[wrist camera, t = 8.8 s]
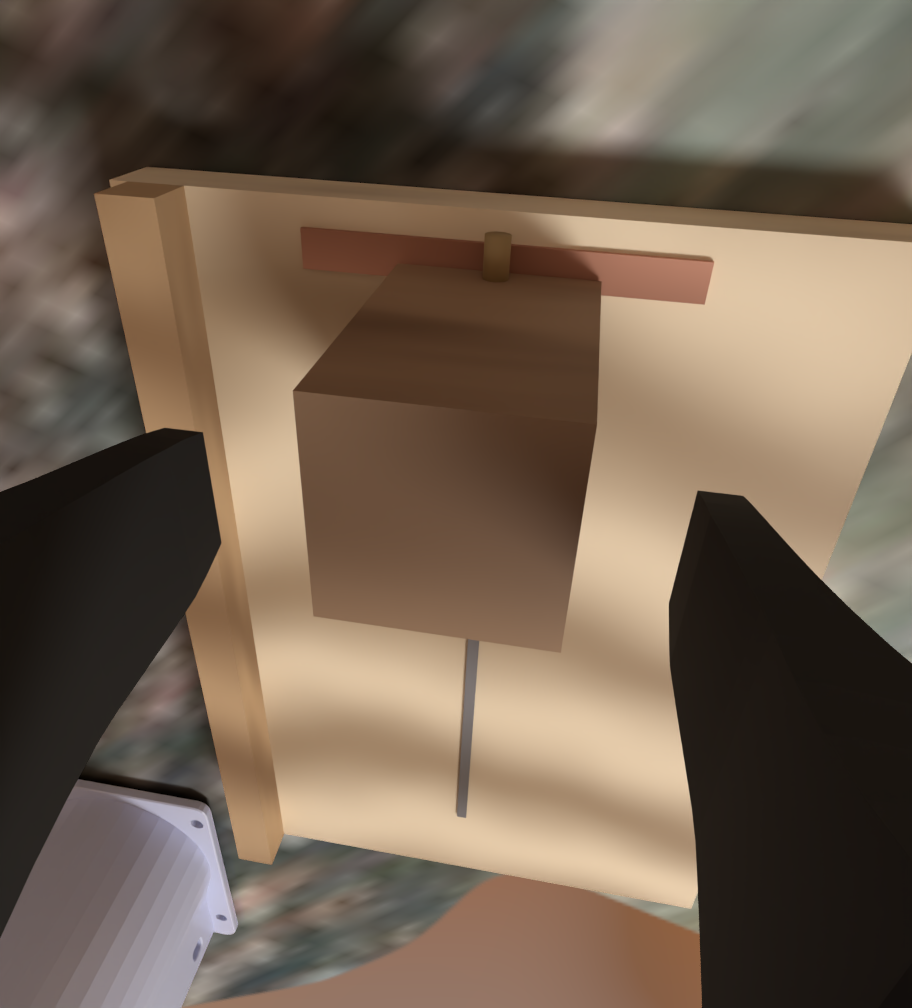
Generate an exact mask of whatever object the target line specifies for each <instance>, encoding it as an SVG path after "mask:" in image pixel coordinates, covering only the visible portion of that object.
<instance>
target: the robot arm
mask: <svg viewBox="0 0 912 1008" xmlns="http://www.w3.org/2000/svg"><path fill="white" fill-rule="evenodd" d="M221 543H222V542H221V536H220V530H219V524H218V518H217V512H216V507H215V501H214V495H213V489H212V483H211V477H210V471H209V465H208V459H207V453H206V447H205V441H204V435H203V432H197V431H189V430H180V429H172V428H162V429H158V430H155V431H151V432H148V433H145V434H143V435H140V436H137V437H134V438H132V439H129V440H127V441H124V442H122V443H119V444H117V445H114V446H112V447H109V448H107V449H104V450H102V451H100V452H97V453H95V454H92V455H90V456H88V457H85V458H83V459H81V460H78V461H76V462H73V463H71V464H69V465H66V466H64V467H61V468H59V469H57V470H54V471H52V472H50V473H47V474H45V475H42V476H40V477H38V478H35V479H33V480H30V481H28V482H25V483H23V484H20V485H17V486H15V487H12V488H10V489H7V490H4V491H2V492H0V1008H181V1007H182V1004H183V1002H184V1000H185V997H186V995H187V993H188V990H189V988H190V986H191V983H192V981H193V979H194V976H195V974H196V972H197V969H198V967H199V965H200V962H201V960H202V958H203V955H204V953H205V951H206V948H207V946H208V944H209V941H210V939H211V937H212V934H213V932H217V933H222V934H228V935H230V934H233V933H235V931H236V929H237V926H238V922H237V917H236V913H235V909H234V905H233V901H232V897H231V892H230V888H229V884H228V880H227V876H226V872H225V867H224V863H223V859H222V855H221V851H220V847H219V842H218V838H217V834H216V830H215V826H214V821H213V817H212V813H211V810H210V808H209V807H208V806H207V805H206V804H205V803H203V802H200V801H197V800H191V799H186V798H180V797H175V796H169V795H164V794H158V793H152V792H147V791H141V790H136V789H130V788H125V787H119V786H114V785H108V784H103V783H97V782H92V781H86V780H81V779H78V778H79V776H80V775H81V773H82V771H83V769H84V767H85V765H86V763H87V762H88V760H89V758H90V756H91V754H92V752H93V751H94V749H95V747H96V745H97V743H98V741H99V740H100V738H101V736H102V735H103V733H104V732H105V730H106V728H107V727H108V725H109V724H110V722H111V721H112V719H113V717H114V716H115V714H116V713H117V711H118V710H119V708H120V707H121V705H122V704H123V702H124V701H125V700H126V698H127V697H128V695H129V694H130V692H131V691H132V689H133V688H134V687H135V685H136V684H137V682H138V681H139V679H140V678H141V676H142V675H143V674H144V672H145V671H146V669H147V668H148V666H149V665H150V663H151V662H152V661H153V659H154V658H155V656H156V655H157V653H158V652H159V650H160V649H161V648H162V646H163V645H164V643H165V642H166V640H167V639H168V638H169V636H170V635H171V633H172V632H173V630H174V629H175V627H176V626H177V624H178V623H179V621H180V620H181V618H182V617H183V615H184V614H185V612H186V611H187V609H188V608H189V606H190V605H191V603H192V602H193V600H194V599H195V597H196V595H197V593H198V591H199V589H200V588H201V586H202V584H203V582H204V580H205V578H206V576H207V574H208V572H209V570H210V567H211V565H212V563H213V561H214V559H215V557H216V554H217V552H218V550H219V548H220V546H221ZM669 658H670V671H671V678H672V685H673V691H674V698H675V705H676V711H677V718H678V724H679V731H680V737H681V743H682V750H683V756H684V762H685V769H686V775H687V781H688V788H689V794H690V801H691V807H692V815H693V825H694V834H695V844H696V863H697V883H698V904H699V928H700V955H701V984H702V1008H912V663H911V662H909V661H908V660H907V659H906V658H905V657H903V656H902V655H901V654H900V653H899V652H898V651H896V650H895V649H894V648H893V647H892V646H890V645H889V644H888V643H887V642H886V641H885V640H884V639H883V638H882V637H880V636H879V635H878V634H877V633H876V632H875V631H874V630H873V629H872V628H871V627H870V626H868V625H867V624H866V623H865V622H864V621H863V620H862V619H861V618H860V617H859V616H858V615H857V614H855V613H854V612H853V611H852V610H851V609H850V608H849V607H848V606H847V605H846V604H845V603H844V602H843V601H842V600H841V599H840V598H839V597H838V596H837V595H836V594H835V593H834V592H833V591H832V590H831V589H830V588H829V587H828V586H827V585H826V584H825V583H824V582H823V581H822V580H821V579H820V578H819V577H818V576H817V575H816V574H815V573H814V572H813V571H812V570H811V569H810V568H809V566H808V565H807V564H806V563H805V562H804V561H803V560H802V559H801V558H800V557H799V556H798V555H797V554H796V553H795V551H794V550H793V549H792V548H791V547H790V546H789V545H788V544H787V543H786V542H785V540H784V539H783V538H782V537H781V536H780V535H779V534H778V533H777V532H776V530H775V529H774V528H773V527H772V526H771V525H770V524H769V523H768V522H767V520H766V519H765V518H764V517H763V516H762V515H761V514H760V513H759V512H758V510H757V509H756V508H755V507H754V506H753V505H752V504H751V503H750V502H749V501H748V500H747V499H746V498H745V497H744V496H741V495H732V494H724V493H715V492H707V491H697V495H696V499H695V503H694V507H693V510H692V514H691V518H690V522H689V526H688V530H687V534H686V538H685V542H684V546H683V550H682V554H681V557H680V561H679V565H678V569H677V573H676V577H675V581H674V585H673V589H672V593H671V597H670V600H669Z"/></svg>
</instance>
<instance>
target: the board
mask: <svg viewBox="0 0 912 1008" xmlns="http://www.w3.org/2000/svg"><path fill="white" fill-rule="evenodd" d="M109 181H110V186H111V188H108V189H105V190H103V191H100V192H97V193H94V196H95V200H96V205H97V210H98V214H99V219H100V223H101V228H102V232H103V237H104V242H105V246H106V251H107V255H108V260H109V265H110V269H111V274H112V278H113V283H114V287H115V292H116V297H117V301H118V306H119V310H120V315H121V320H122V324H123V329H124V333H125V338H126V342H127V347H128V352H129V356H130V361H131V365H132V370H133V375H134V379H135V384H136V388H137V393H138V397H139V402H140V407H141V411H142V416H143V420H144V425H145V430H146V433H148V432H151V431H155V430H158V429H162V428H172V429H180V430H189V431H197V432H203V435H204V441H205V447H206V453H207V459H208V465H209V471H210V477H211V483H212V489H213V495H214V501H215V507H216V512H217V518H218V524H219V530H220V536H221V542H222V543H221V546H220V548H219V550H218V552H217V554H216V557H215V559H214V561H213V563H212V565H211V567H210V570H209V572H208V574H207V576H206V578H205V580H204V582H203V584H202V586H201V588H200V589H199V591H198V593H197V595H196V597H195V599H194V600H193V602H192V603H191V605H190V606H189V608H188V609H187V611H186V612H185V613H186V618H187V622H188V627H189V631H190V636H191V640H192V645H193V650H194V654H195V659H196V663H197V668H198V673H199V677H200V682H201V686H202V691H203V695H204V700H205V705H206V709H207V714H208V718H209V723H210V728H211V732H212V737H213V741H214V746H215V750H216V755H217V760H218V764H219V769H220V773H221V778H222V783H223V787H224V792H225V796H226V801H227V805H228V810H229V815H230V819H231V824H232V828H233V833H234V838H235V842H236V847H237V851H238V856H239V859H244V860H249V861H255V862H260V863H265V864H271V865H272V863H273V860H274V858H275V855H276V853H277V850H278V848H279V845H280V843H281V840H282V838H283V835H284V834H289V835H294V836H300V837H305V838H311V839H316V840H321V841H327V842H332V843H338V844H343V845H349V846H354V847H359V848H365V849H370V850H376V851H381V852H387V853H392V854H397V855H403V856H408V857H414V858H419V859H425V860H430V861H435V862H441V863H446V864H452V865H457V866H463V867H468V868H473V869H479V870H484V871H490V872H495V873H500V874H506V875H511V876H517V877H523V878H528V879H533V880H539V881H544V882H549V883H555V884H561V885H566V886H571V887H576V888H582V889H587V890H593V891H598V892H604V893H609V894H614V895H620V896H625V897H631V898H636V899H642V900H647V901H652V902H658V903H663V904H669V905H674V906H680V907H685V908H690V909H691V907H692V905H693V902H694V900H695V897H696V895H697V892H698V883H697V863H696V844H695V834H694V825H693V815H692V807H691V801H690V794H689V788H688V781H687V775H686V769H685V762H684V756H683V750H682V743H681V737H680V731H679V724H678V718H677V711H676V705H675V698H674V691H673V685H672V678H671V671H670V658H669V600H670V597H671V593H672V589H673V585H674V581H675V577H676V573H677V569H678V565H679V561H680V557H681V554H682V550H683V546H684V542H685V538H686V534H687V530H688V526H689V522H690V518H691V514H692V510H693V507H694V503H695V499H696V495H697V491H707V492H715V493H724V494H732V495H741V496H744V497H745V498H746V499H747V500H748V501H749V502H750V503H751V504H752V505H753V506H754V507H755V508H756V509H757V510H758V512H759V513H760V514H761V515H762V516H763V517H764V518H765V519H766V520H767V522H768V523H769V524H770V525H771V526H772V527H773V528H774V529H775V530H776V532H777V533H778V534H779V535H780V536H781V537H782V538H783V539H784V540H785V542H786V543H787V544H788V545H789V546H790V547H791V548H792V549H793V550H794V551H795V553H796V554H797V555H798V556H799V557H800V558H801V559H802V560H803V561H804V562H805V563H806V564H807V565H808V566H809V568H810V569H811V570H812V571H813V572H814V573H815V574H816V575H817V576H818V577H819V578H820V579H821V580H822V578H823V575H824V573H825V570H826V568H827V565H828V563H829V560H830V558H831V555H832V553H833V550H834V548H835V545H836V543H837V540H838V538H839V535H840V533H841V530H842V527H843V525H844V522H845V520H846V517H847V515H848V512H849V510H850V507H851V505H852V502H853V500H854V497H855V495H856V492H857V490H858V487H859V485H860V482H861V480H862V477H863V475H864V472H865V470H866V467H867V465H868V462H869V460H870V457H871V454H872V452H873V449H874V447H875V444H876V442H877V439H878V437H879V434H880V432H881V429H882V427H883V424H884V422H885V419H886V417H887V414H888V412H889V409H890V407H891V404H892V402H893V399H894V397H895V394H896V392H897V389H898V387H899V384H900V382H901V379H902V376H903V374H904V371H905V369H906V366H907V364H908V361H909V359H910V356H911V354H912V224H901V223H888V222H874V221H861V220H848V219H834V218H821V217H808V216H794V215H781V214H768V213H755V212H741V211H728V210H715V209H701V208H688V207H675V206H661V205H648V204H635V203H622V202H608V201H595V200H582V199H568V198H555V197H542V196H528V195H515V194H502V193H488V192H475V191H462V190H449V189H435V188H422V187H409V186H395V185H382V184H369V183H355V182H342V181H329V180H316V179H302V178H289V177H276V176H262V175H249V174H236V173H222V172H209V171H196V170H183V169H169V168H156V167H145V168H142V169H139V170H136V171H133V172H131V173H128V174H125V175H122V176H119V177H116V178H113V179H110V180H109ZM494 231H497V232H506V233H509V234H511V235H512V241H511V254H510V267H509V273H514V274H525V275H537V276H548V277H559V278H571V279H582V280H593V281H602V285H601V317H600V349H599V381H598V413H597V429H596V435H595V441H594V447H593V454H592V460H591V466H590V473H589V479H588V485H587V491H586V498H585V504H584V510H583V517H582V523H581V529H580V535H579V542H578V548H577V554H576V561H575V567H574V573H573V580H572V586H571V592H570V598H569V605H568V611H567V617H566V624H565V630H564V636H563V642H562V649H561V653H558V652H551V651H544V650H538V649H531V648H524V647H517V646H510V645H504V644H497V643H490V642H483V641H477V640H470V639H463V638H456V637H449V636H443V635H436V634H429V633H422V632H416V631H409V630H402V629H395V628H388V627H382V626H375V625H368V624H361V623H354V622H348V621H341V620H334V619H327V618H321V617H314V616H313V606H312V596H311V585H310V574H309V563H308V552H307V541H306V530H305V520H304V509H303V498H302V487H301V476H300V465H299V454H298V444H297V433H296V422H295V411H294V400H293V390H294V389H295V387H296V386H297V385H298V384H299V382H300V381H301V380H302V379H303V378H304V376H305V375H306V374H307V373H308V372H309V370H310V369H311V368H312V367H313V366H314V364H315V363H316V362H317V361H318V359H319V358H320V357H321V356H322V355H323V353H324V352H325V351H326V350H327V349H328V347H329V346H330V345H331V344H332V342H333V341H334V340H335V339H336V338H337V336H338V335H339V334H340V333H341V332H342V330H343V329H344V328H345V327H346V326H347V324H348V323H349V322H350V321H351V319H352V318H353V317H354V316H355V315H356V313H357V312H358V311H359V310H360V309H361V307H362V306H363V305H364V304H365V302H366V301H367V300H368V299H369V298H370V296H371V295H372V294H373V293H374V292H375V290H376V289H377V288H378V287H379V286H380V284H381V283H382V282H383V281H384V279H385V278H386V277H387V276H388V275H389V273H390V272H391V271H392V270H393V269H394V267H395V266H396V265H397V264H398V263H400V264H411V265H423V266H434V267H445V268H457V269H468V270H480V271H483V257H484V239H485V233H487V232H494Z"/></svg>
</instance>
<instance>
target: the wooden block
mask: <svg viewBox="0 0 912 1008" xmlns="http://www.w3.org/2000/svg"><path fill="white" fill-rule="evenodd" d="M511 241H512V235H511V234H509V233H506V232H497V231H494V232H487V233H485V239H484V257H483V271H480V270H468V269H457V268H445V267H434V266H423V265H411V264H400V263H398V264H397V265H396V266H395V267H394V269H393V270H392V271H391V272H390V273H389V275H388V276H387V277H386V278H385V279H384V281H383V282H382V283H381V284H380V286H379V287H378V288H377V289H376V290H375V292H374V293H373V294H372V295H371V296H370V298H369V299H368V300H367V301H366V302H365V304H364V305H363V306H362V307H361V309H360V310H359V311H358V312H357V313H356V315H355V316H354V317H353V318H352V319H351V321H350V322H349V323H348V324H347V326H346V327H345V328H344V329H343V330H342V332H341V333H340V334H339V335H338V336H337V338H336V339H335V340H334V341H333V342H332V344H331V345H330V346H329V347H328V349H327V350H326V351H325V352H324V353H323V355H322V356H321V357H320V358H319V359H318V361H317V362H316V363H315V364H314V366H313V367H312V368H311V369H310V370H309V372H308V373H307V374H306V375H305V376H304V378H303V379H302V380H301V381H300V382H299V384H298V385H297V386H296V387H295V389H294V390H293V400H294V411H295V422H296V433H297V444H298V454H299V465H300V476H301V487H302V498H303V509H304V520H305V530H306V541H307V552H308V563H309V574H310V585H311V596H312V606H313V616H314V617H321V618H327V619H334V620H341V621H348V622H354V623H361V624H368V625H375V626H382V627H388V628H395V629H402V630H409V631H416V632H422V633H429V634H436V635H443V636H449V637H456V638H463V639H470V640H477V641H483V642H490V643H497V644H504V645H510V646H517V647H524V648H531V649H538V650H544V651H551V652H558V653H561V649H562V642H563V636H564V630H565V624H566V617H567V611H568V605H569V598H570V592H571V586H572V580H573V573H574V567H575V561H576V554H577V548H578V542H579V535H580V529H581V523H582V517H583V510H584V504H585V498H586V491H587V485H588V479H589V473H590V466H591V460H592V454H593V447H594V441H595V435H596V429H597V413H598V381H599V349H600V317H601V285H602V281H593V280H582V279H571V278H559V277H548V276H537V275H525V274H514V273H509V267H510V254H511Z"/></svg>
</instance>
